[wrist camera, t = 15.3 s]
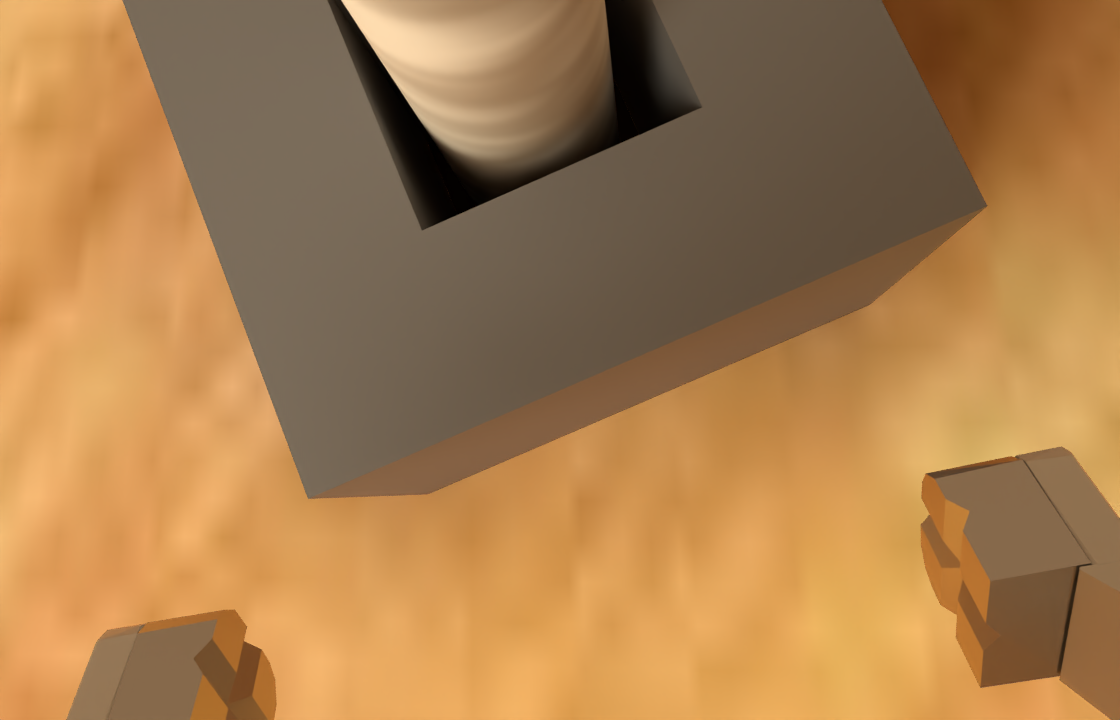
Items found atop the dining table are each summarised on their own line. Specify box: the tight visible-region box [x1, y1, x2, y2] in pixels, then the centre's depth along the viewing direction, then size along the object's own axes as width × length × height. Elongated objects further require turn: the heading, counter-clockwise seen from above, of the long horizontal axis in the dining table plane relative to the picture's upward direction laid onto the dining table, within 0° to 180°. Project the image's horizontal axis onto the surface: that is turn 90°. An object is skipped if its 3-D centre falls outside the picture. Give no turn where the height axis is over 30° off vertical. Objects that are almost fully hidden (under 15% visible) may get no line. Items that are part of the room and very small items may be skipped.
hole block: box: [123, 0, 987, 499], centre depth 24 cm, size 14×14×10 cm
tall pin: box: [341, 0, 620, 207], centre depth 21 cm, size 4×4×18 cm
